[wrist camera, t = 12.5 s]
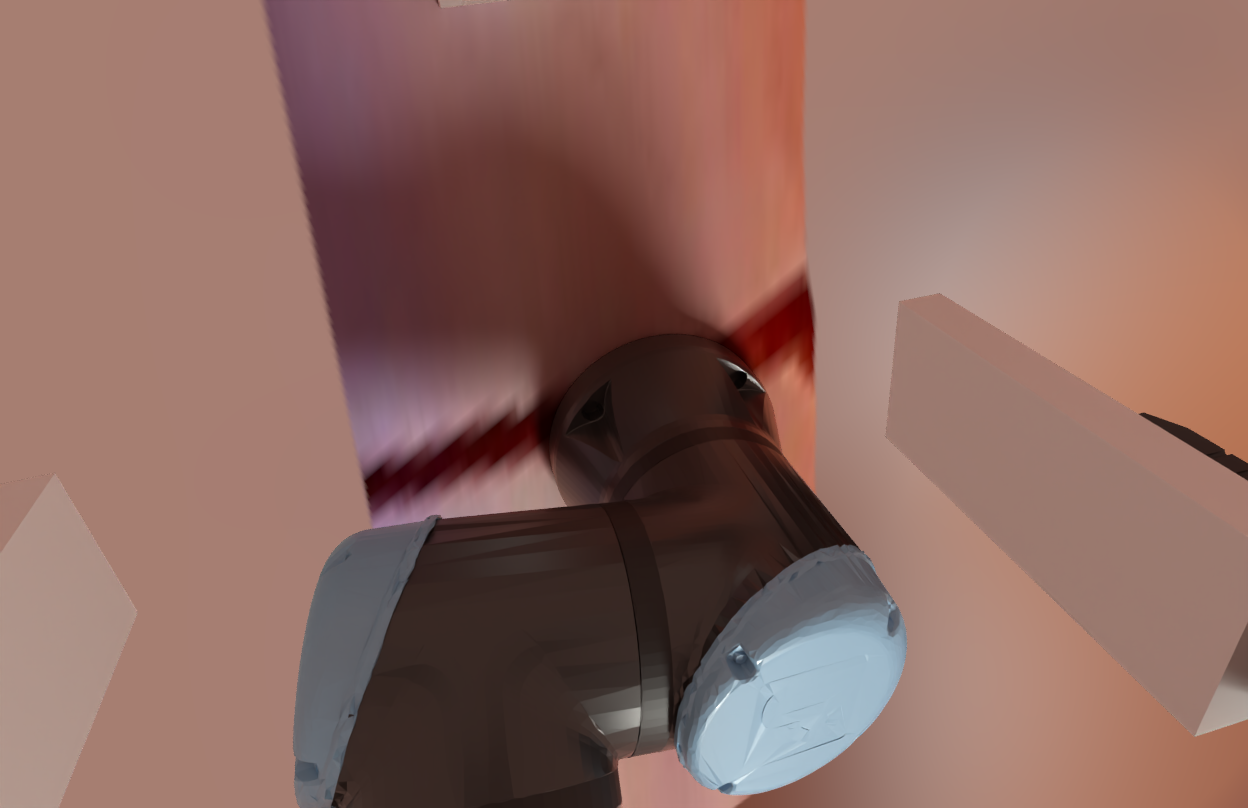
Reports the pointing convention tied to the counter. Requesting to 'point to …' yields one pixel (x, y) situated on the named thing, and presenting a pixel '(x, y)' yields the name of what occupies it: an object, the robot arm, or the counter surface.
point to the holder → (462, 2)
